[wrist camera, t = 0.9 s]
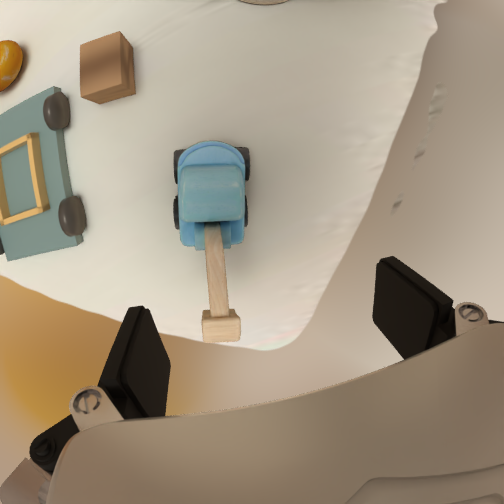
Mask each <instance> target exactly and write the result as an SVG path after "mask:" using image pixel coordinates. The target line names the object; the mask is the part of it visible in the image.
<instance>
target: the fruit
mask: <svg viewBox="0 0 504 504" xmlns="http://www.w3.org/2000/svg"><path fill="white" fill-rule="evenodd" d="M22 59H23V54H22V50H21V48H20V46H19V45H18V44H17V43H16V42H14V41H10V40H5V41H1V42H0V92H1V91H3V90H4V89H6V88H7V87H8V86H9V85H10V84H11V83H12V82H13V81H14V80H15V78H16V76H17V74H18V73H19V71H20V68H21V65H22Z"/></svg>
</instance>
